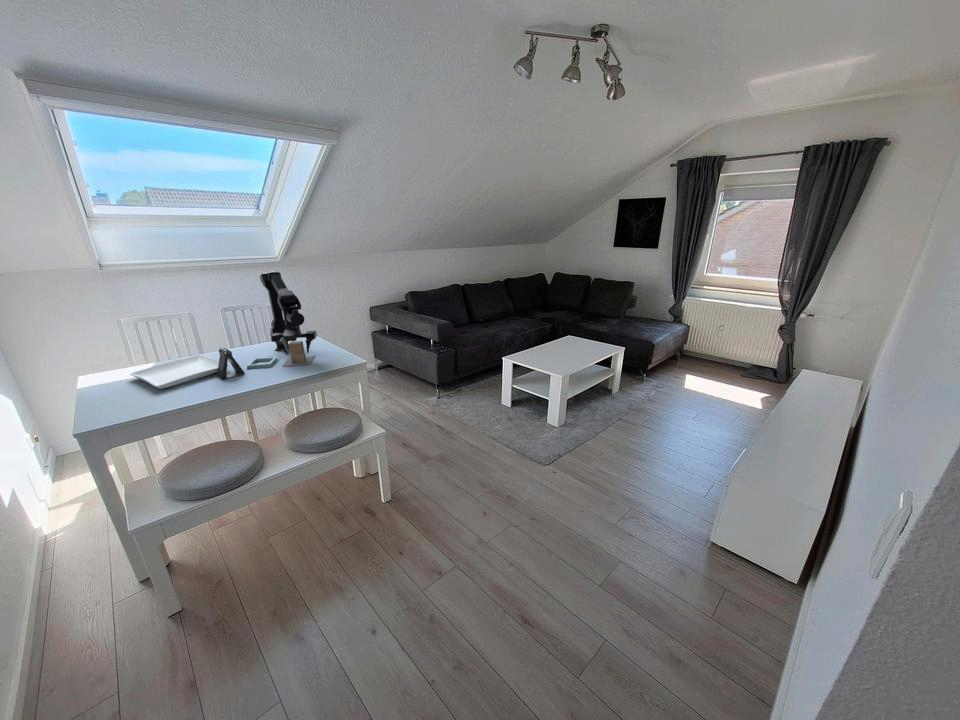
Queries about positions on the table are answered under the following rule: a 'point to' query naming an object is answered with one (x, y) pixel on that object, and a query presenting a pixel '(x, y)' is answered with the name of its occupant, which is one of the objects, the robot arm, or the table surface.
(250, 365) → the pocket frame
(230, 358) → the phone stand
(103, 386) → the table surface
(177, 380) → the square plate
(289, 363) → the pad
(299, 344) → the oak block
